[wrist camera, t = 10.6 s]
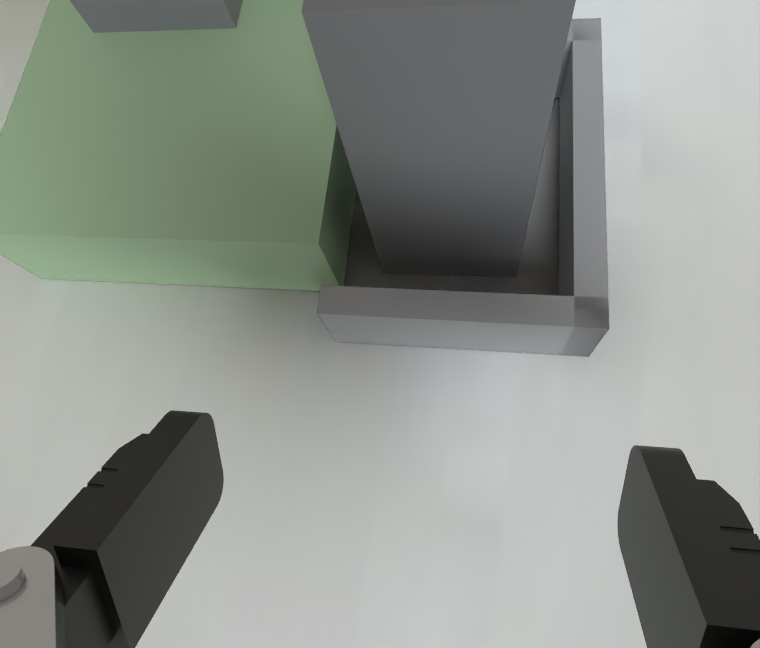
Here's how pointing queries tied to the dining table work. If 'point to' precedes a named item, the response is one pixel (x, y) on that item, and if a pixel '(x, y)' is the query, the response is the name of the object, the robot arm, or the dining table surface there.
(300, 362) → the dining table surface
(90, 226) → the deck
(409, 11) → the tall grey cuboid
